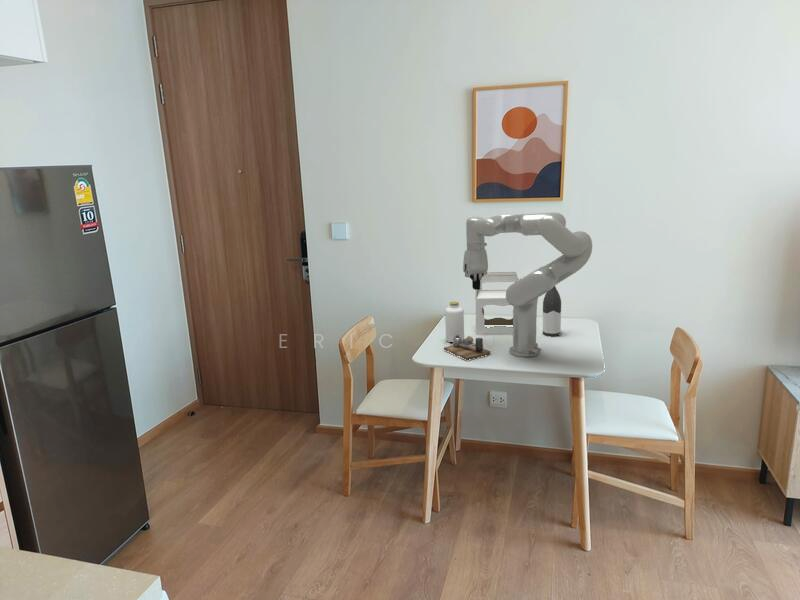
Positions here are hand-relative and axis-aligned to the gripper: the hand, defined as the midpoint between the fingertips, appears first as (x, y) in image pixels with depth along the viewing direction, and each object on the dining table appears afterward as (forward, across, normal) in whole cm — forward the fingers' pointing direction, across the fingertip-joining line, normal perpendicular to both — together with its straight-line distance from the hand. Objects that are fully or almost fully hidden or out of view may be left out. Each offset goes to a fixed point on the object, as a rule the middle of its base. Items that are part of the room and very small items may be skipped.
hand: (476, 289), depth 243 cm
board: (+26, +9, +6) cm, 28 cm away
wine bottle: (+26, -37, +5) cm, 45 cm away
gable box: (+26, -20, -13) cm, 35 cm away
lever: (+23, +8, +6) cm, 25 cm away
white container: (+26, +5, -10) cm, 28 cm away
